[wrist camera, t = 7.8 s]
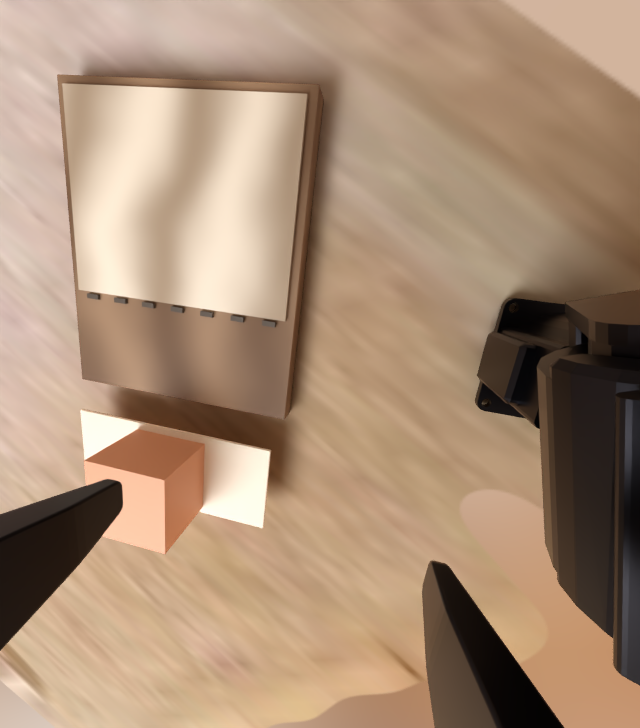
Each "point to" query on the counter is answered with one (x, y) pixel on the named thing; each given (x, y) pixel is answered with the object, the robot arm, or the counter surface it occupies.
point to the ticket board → (190, 233)
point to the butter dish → (172, 477)
